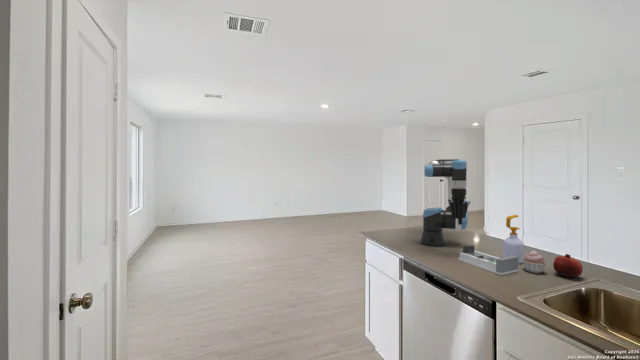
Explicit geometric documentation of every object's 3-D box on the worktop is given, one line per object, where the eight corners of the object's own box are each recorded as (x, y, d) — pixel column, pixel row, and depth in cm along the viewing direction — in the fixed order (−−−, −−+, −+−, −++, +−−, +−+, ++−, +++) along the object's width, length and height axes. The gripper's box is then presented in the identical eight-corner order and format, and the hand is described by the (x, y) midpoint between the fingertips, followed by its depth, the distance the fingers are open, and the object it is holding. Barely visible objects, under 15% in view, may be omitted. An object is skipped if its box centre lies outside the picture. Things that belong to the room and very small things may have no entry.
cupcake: (551, 274, 135) (552, 253, 134) (534, 275, 133) (534, 254, 133) (533, 267, 144) (534, 247, 143) (517, 268, 142) (517, 248, 142)
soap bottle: (526, 264, 148) (528, 216, 147) (507, 263, 150) (508, 216, 149) (518, 258, 157) (519, 213, 156) (500, 257, 159) (500, 213, 158)
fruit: (547, 272, 138) (547, 251, 137) (568, 272, 137) (569, 251, 137) (565, 280, 127) (566, 258, 126) (588, 280, 127) (589, 258, 126)
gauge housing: (458, 259, 156) (458, 247, 156) (474, 257, 161) (474, 244, 160) (501, 275, 134) (501, 260, 134) (518, 271, 139) (518, 256, 138)
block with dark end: (458, 257, 156) (459, 246, 155) (471, 255, 159) (471, 244, 159) (480, 265, 144) (480, 253, 143) (493, 262, 147) (493, 251, 147)
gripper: (444, 187, 166) (444, 228, 167) (463, 189, 154) (463, 232, 155) (454, 187, 169) (453, 227, 170) (473, 188, 157) (473, 231, 158)
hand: (458, 229), depth 162 cm, fingers closed
